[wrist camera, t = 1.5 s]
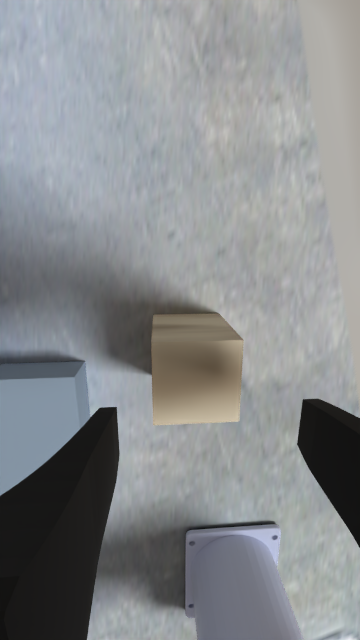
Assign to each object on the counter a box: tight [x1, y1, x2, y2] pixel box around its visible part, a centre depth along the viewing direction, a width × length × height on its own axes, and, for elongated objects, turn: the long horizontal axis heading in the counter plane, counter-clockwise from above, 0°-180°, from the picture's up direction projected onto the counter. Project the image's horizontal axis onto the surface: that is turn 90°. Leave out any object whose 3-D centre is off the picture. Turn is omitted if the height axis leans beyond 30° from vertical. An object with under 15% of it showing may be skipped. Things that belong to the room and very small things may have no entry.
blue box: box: [0, 361, 90, 496], centre depth 20 cm, size 10×10×3 cm
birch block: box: [151, 313, 243, 425], centre depth 17 cm, size 4×4×6 cm
